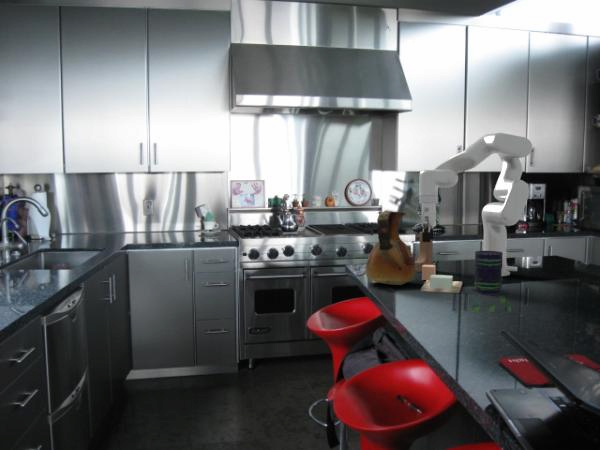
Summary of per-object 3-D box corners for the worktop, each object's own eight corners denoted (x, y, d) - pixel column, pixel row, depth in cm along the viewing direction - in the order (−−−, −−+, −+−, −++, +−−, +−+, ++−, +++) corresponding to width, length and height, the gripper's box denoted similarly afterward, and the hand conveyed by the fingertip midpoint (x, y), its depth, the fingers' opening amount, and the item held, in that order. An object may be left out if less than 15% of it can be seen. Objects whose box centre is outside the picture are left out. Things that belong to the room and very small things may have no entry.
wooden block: (421, 272, 245) (421, 233, 243) (413, 271, 248) (413, 232, 247) (432, 270, 251) (433, 231, 249) (424, 269, 254) (425, 231, 252)
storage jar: (502, 290, 205) (502, 251, 204) (502, 295, 196) (503, 254, 194) (474, 288, 208) (474, 250, 207) (473, 294, 199) (474, 253, 198)
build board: (462, 284, 218) (462, 281, 217) (459, 293, 201) (459, 290, 201) (426, 282, 222) (426, 279, 222) (421, 290, 206) (421, 288, 205)
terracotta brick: (435, 279, 229) (435, 265, 229) (434, 281, 225) (434, 267, 224) (423, 278, 231) (423, 264, 231) (421, 280, 226) (421, 266, 226)
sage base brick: (452, 285, 209) (452, 275, 209) (451, 288, 204) (451, 278, 203) (431, 284, 212) (431, 274, 212) (429, 287, 206) (429, 277, 206)
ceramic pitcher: (420, 281, 225) (420, 209, 222) (408, 290, 206) (408, 212, 204) (374, 278, 233) (374, 208, 230) (359, 287, 215) (359, 211, 212)
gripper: (435, 200, 216) (434, 243, 218) (440, 199, 232) (439, 238, 234) (416, 200, 219) (415, 242, 220) (422, 199, 235) (421, 238, 236)
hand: (428, 240), depth 227 cm, fingers open, 9 cm apart
